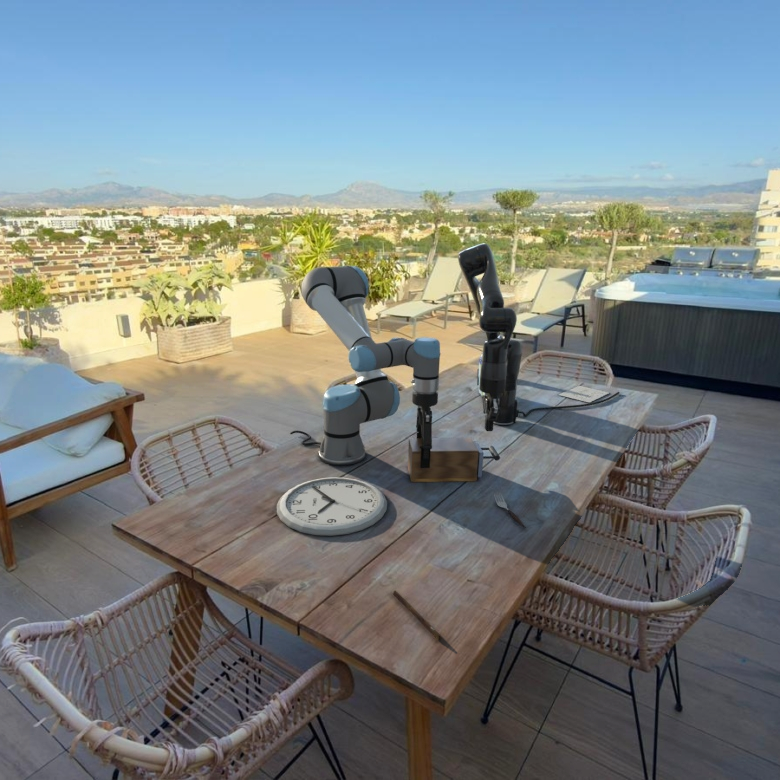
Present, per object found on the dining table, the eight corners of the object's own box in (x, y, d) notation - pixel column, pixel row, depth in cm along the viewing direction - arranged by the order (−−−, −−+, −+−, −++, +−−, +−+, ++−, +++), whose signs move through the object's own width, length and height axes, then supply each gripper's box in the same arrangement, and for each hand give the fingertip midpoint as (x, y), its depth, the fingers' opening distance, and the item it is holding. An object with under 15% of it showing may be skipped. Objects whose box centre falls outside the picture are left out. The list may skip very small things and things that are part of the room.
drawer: (491, 464, 167) (493, 440, 165) (499, 477, 159) (501, 452, 156) (417, 465, 166) (417, 441, 163) (420, 478, 157) (421, 453, 155)
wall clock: (392, 527, 129) (268, 531, 127) (391, 533, 130) (269, 537, 127) (383, 473, 158) (282, 475, 155) (383, 478, 158) (282, 480, 156)
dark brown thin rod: (392, 594, 108) (393, 590, 108) (394, 593, 109) (394, 589, 108) (438, 640, 96) (438, 636, 96) (440, 639, 97) (440, 635, 96)
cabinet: (469, 466, 168) (471, 437, 165) (476, 481, 158) (478, 450, 155) (407, 466, 166) (408, 438, 163) (411, 481, 157) (412, 451, 154)
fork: (520, 530, 132) (521, 523, 132) (492, 499, 147) (492, 493, 146) (529, 529, 133) (530, 522, 132) (500, 498, 147) (501, 492, 147)
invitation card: (579, 385, 255) (609, 392, 245) (579, 386, 255) (609, 393, 245) (558, 394, 241) (589, 402, 231) (558, 395, 241) (589, 402, 231)
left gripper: (408, 379, 164) (406, 444, 171) (417, 403, 143) (414, 476, 149) (432, 379, 165) (429, 444, 171) (444, 403, 143) (440, 476, 150)
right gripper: (475, 369, 160) (471, 422, 165) (485, 381, 147) (481, 438, 152) (499, 369, 160) (495, 422, 166) (512, 381, 148) (506, 438, 153)
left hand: (422, 459), depth 160 cm, fingers closed on cabinet, 10 cm apart
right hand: (488, 430), depth 159 cm, fingers closed
